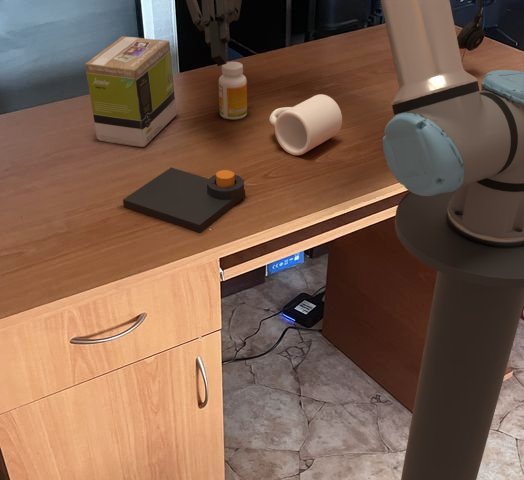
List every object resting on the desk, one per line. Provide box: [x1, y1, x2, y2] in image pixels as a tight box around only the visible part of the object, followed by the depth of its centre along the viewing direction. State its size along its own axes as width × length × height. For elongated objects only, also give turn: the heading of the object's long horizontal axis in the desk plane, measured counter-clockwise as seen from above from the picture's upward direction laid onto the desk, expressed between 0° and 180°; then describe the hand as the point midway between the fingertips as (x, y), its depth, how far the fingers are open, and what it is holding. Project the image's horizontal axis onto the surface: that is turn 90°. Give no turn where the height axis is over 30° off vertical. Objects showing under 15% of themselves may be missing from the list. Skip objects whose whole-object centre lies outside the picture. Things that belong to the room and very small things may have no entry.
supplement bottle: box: [218, 61, 248, 120], centre depth 151 cm, size 5×5×10 cm
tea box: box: [85, 35, 177, 148], centre depth 144 cm, size 15×10×15 cm, turn 161°
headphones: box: [456, 0, 486, 61], centre depth 165 cm, size 15×11×20 cm
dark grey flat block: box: [122, 167, 246, 233], centre depth 127 cm, size 15×14×3 cm
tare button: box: [215, 169, 236, 187], centre depth 127 cm, size 3×3×2 cm
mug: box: [269, 93, 343, 156], centre depth 142 cm, size 12×10×8 cm
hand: (219, 60), depth 130 cm, fingers closed
